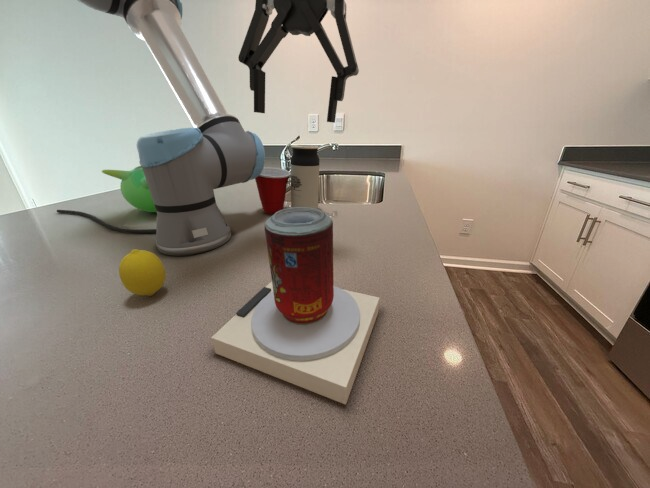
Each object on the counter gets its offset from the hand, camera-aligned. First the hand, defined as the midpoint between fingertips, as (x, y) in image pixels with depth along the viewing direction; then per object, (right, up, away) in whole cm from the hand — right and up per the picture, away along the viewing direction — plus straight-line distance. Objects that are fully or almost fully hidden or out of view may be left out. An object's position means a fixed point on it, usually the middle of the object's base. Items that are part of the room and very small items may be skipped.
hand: (294, 117), depth 46 cm
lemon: (-22, -31, -5) cm, 38 cm away
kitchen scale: (+3, -34, -13) cm, 36 cm away
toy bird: (-46, -12, +35) cm, 59 cm away
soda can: (+3, -31, -14) cm, 34 cm away
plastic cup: (-10, -13, +32) cm, 36 cm away
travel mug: (-1, -13, +31) cm, 34 cm away
